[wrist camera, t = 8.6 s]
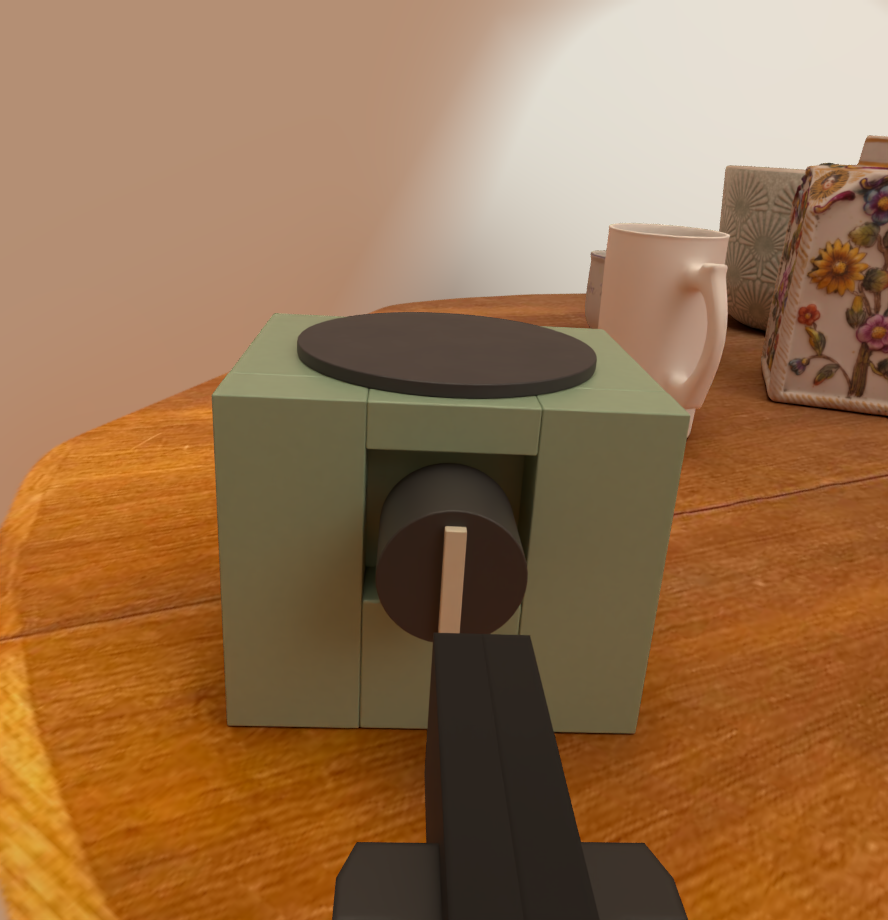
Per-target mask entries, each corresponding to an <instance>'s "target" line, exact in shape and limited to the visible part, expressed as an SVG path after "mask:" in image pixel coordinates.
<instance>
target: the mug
mask: <svg viewBox="0 0 888 920" xmlns="http://www.w3.org/2000/svg"><path fill="white" fill-rule="evenodd" d="M729 238H730V235H729V234H726V233H723V232H719V231H713V230H707V229H700V228H692V227H683V226H673V225H660V224H641V223H619V224H611V225H610V226H609V236H608V243H607V250H606V257H605V265H604V275H603V284H602V294H601V304H600V314H599V323H598V329H603V330H605V331H606V332H607V333H608V334H609V335H610V336H611V337H612V338H613V339H614V340H615V341H616V342H617V343H618V344H619V345H620V346H621V347H622V348H623V349H624V350H625V351H626V352H627V353H628V354H629V355H630V356H631V357H632V358H633V359H634V360H635V361H636V362H637V363H638V364H639V365H640V366H641V367H642V368H643V369H644V370H645V371H646V372H647V373H648V374H649V375H650V376H651V377H652V378H653V379H654V380H655V381H656V382H657V383H658V384H659V385H660V386H661V387H662V388H663V389H664V390H665V391H666V392H667V393H669V394H670V395H671V396H672V397H673V398H674V399H675V400H676V401H677V402H678V403H679V404H680V405H681V406H682V407H683V408H684V409H685V410H686V411H687V412H688V413H689V414H690V422H689V428H688V433H687V437H688V436H689V434H690V432H691V427H692V422H693V418H694V413H695V409H699V408H701V406H702V404H703V402H704V399H705V397H706V395H707V392H708V390H709V388H710V386H711V383H712V381H713V379H714V376H715V374H716V371H717V369H718V366H719V363H720V360H721V356H722V352H723V348H724V344H725V338H726V331H727V317H728V303H727V287H726V273H727V269H728V267H727V265H725V260H726V253H727V247H728V241H729Z"/></svg>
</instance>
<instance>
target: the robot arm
mask: <svg viewBox="0 0 888 920" xmlns="http://www.w3.org/2000/svg"><path fill="white" fill-rule="evenodd" d="M425 807H426V843H380V842H357V843H356V845H355V846H354V848H353V850H352V852H351V853H350V855H349V857H348V859H347V860H346V862H345V864H344V865H343V867H342V869H341V871H340V872H339V874H338V876H337V878H336V885H335V896H334V906H333V917H332V920H688V918H687V916H686V913H685V910H684V907H683V904H682V902H681V899H680V896H679V893H678V890H677V888H676V885H675V882H674V879H673V878H672V876H671V875H670V874H669V873H668V871H667V870H666V869H665V868H664V867H663V865H662V864H661V863H660V862H659V861H658V859H657V858H656V857H655V856H654V854H653V853H652V852H651V851H650V850H649V848H648V847H647V846H646V845H645V843H599V842H581V841H580V837H579V833H578V829H577V825H576V821H575V817H574V812H573V808H572V804H571V800H570V796H569V792H568V788H567V784H566V780H565V776H564V772H563V768H562V763H561V759H560V755H559V751H558V747H557V743H556V739H555V735H554V731H553V727H552V723H551V719H550V715H549V710H548V706H547V702H546V698H545V694H544V690H543V686H542V682H541V678H540V674H539V670H538V666H537V661H536V657H535V653H534V649H533V645H532V641H531V637H530V635H502V634H465V633H433V648H432V664H431V680H430V696H429V711H428V727H427V743H426V759H425Z"/></svg>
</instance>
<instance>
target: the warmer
mask: <svg viewBox="0 0 888 920" xmlns="http://www.w3.org/2000/svg"><path fill="white" fill-rule="evenodd" d="M212 411H213V432H214V454H215V475H216V497H217V518H218V540H219V561H220V583H221V604H222V626H223V647H224V669H225V690H226V712H227V725H229V726H276V727H326V728H358V727H359V725H360V727H361V728H403V729H427V727H428V711H429V696H430V680H431V664H432V648H433V642H429V641H425V640H422V639H419V638H417V637H415V636H413V635H411V634H409V633H408V632H406V631H404V630H403V629H402V628H400V627H399V626H398V625H397V624H396V623H395V622H394V621H393V620H392V619H391V618H390V617H389V616H388V614H387V613H386V611H385V610H384V608H383V606H382V604H381V603H380V600H379V597H378V594H377V589H376V579H375V575H376V562H377V549H378V535H379V522H380V514H381V510H382V507H383V504H384V502H385V499H386V498H387V496H388V494H389V493H390V491H391V490H392V489H393V487H394V486H395V485H396V484H397V483H398V482H399V481H400V480H401V479H403V478H404V477H405V476H407V475H408V474H410V473H412V472H413V471H415V470H417V469H420V468H422V467H425V466H429V465H433V464H439V463H456V464H463V465H467V466H470V467H473V468H476V469H478V470H480V471H482V472H484V473H485V474H487V475H488V476H490V477H491V478H492V479H493V480H494V481H496V482H497V483H498V484H499V486H500V487H501V488H502V489H503V491H504V492H505V494H506V496H507V497H508V500H509V502H510V504H511V508H512V512H513V515H514V519H515V523H516V526H517V530H518V533H519V537H520V541H521V544H522V548H523V551H524V555H525V559H526V562H527V569H528V582H527V587H526V592H525V595H524V597H523V600H522V602H521V604H520V606H519V607H518V609H517V610H516V612H515V613H514V615H513V616H512V617H511V618H510V619H509V620H508V621H507V622H506V623H505V624H504V625H503V626H502V627H500V628H499V629H497V630H496V631H494V632H493V633H491V634H502V635H530V637H531V641H532V645H533V649H534V653H535V657H536V661H537V666H538V670H539V674H540V678H541V682H542V686H543V690H544V694H545V698H546V702H547V706H548V710H549V715H550V719H551V723H552V727H553V731H554V732H579V733H629V734H634V733H635V731H636V726H637V720H638V714H639V709H640V703H641V697H642V691H643V686H644V680H645V674H646V668H647V663H648V657H649V651H650V645H651V640H652V634H653V628H654V623H655V617H656V611H657V605H658V600H659V594H660V588H661V582H662V577H663V571H664V565H665V560H666V554H667V548H668V542H669V537H670V531H671V525H672V519H673V514H674V508H675V502H676V497H677V491H678V485H679V479H680V474H681V468H682V462H683V456H684V451H685V445H686V439H687V433H688V428H689V422H690V414H689V413H688V412H687V411H686V410H685V409H684V408H683V407H682V406H681V405H680V404H679V403H678V402H677V401H676V400H675V399H674V398H673V397H672V396H671V395H670V394H669V393H667V392H666V391H665V390H664V389H663V388H662V387H661V386H660V385H659V384H658V383H657V382H656V381H655V380H654V379H653V378H652V377H651V376H650V375H649V374H648V373H647V372H646V371H645V370H644V369H643V368H642V367H641V366H640V365H639V364H638V363H637V362H636V361H635V360H634V359H633V358H632V357H631V356H630V355H629V354H628V353H627V352H626V351H625V350H624V349H623V348H622V347H621V346H620V345H619V344H618V343H617V342H616V341H615V340H614V339H613V338H612V337H611V336H610V335H609V334H608V333H607V332H606V331H605V330H603V329H586V328H566V327H545V326H537V325H532V324H528V323H523V322H518V321H512V320H506V319H499V318H492V317H484V316H475V315H464V314H450V313H429V312H395V313H376V314H364V315H355V316H348V317H339V316H318V315H299V314H278V313H275V314H273V316H272V317H271V318H270V320H269V321H268V322H267V324H266V325H265V326H264V327H263V329H262V330H261V332H260V333H259V334H258V335H257V337H256V338H255V339H254V341H253V342H252V343H251V345H250V346H249V347H248V349H247V350H246V351H245V353H244V354H243V355H242V357H241V358H240V359H239V360H238V362H237V363H236V364H235V366H234V367H233V368H232V370H231V371H230V372H229V373H228V374H227V376H226V377H225V378H224V380H223V381H222V382H221V384H220V385H219V386H218V387H217V389H216V390H215V391H214V393H213V394H212Z"/></svg>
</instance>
